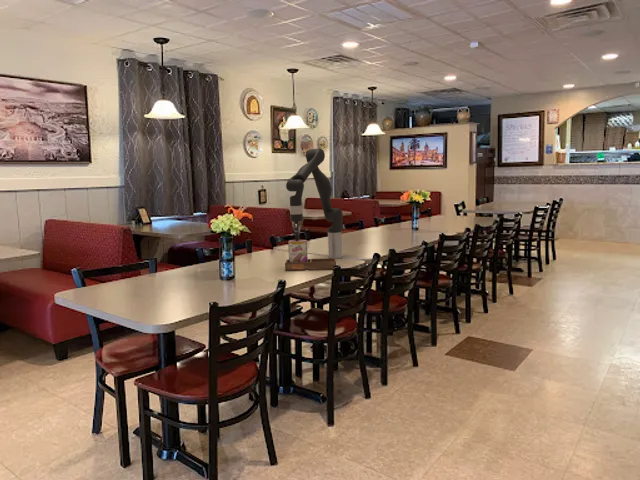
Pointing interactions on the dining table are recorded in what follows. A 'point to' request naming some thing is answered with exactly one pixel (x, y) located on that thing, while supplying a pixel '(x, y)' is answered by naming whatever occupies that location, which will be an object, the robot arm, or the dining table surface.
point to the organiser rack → (311, 265)
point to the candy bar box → (298, 251)
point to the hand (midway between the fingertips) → (297, 239)
